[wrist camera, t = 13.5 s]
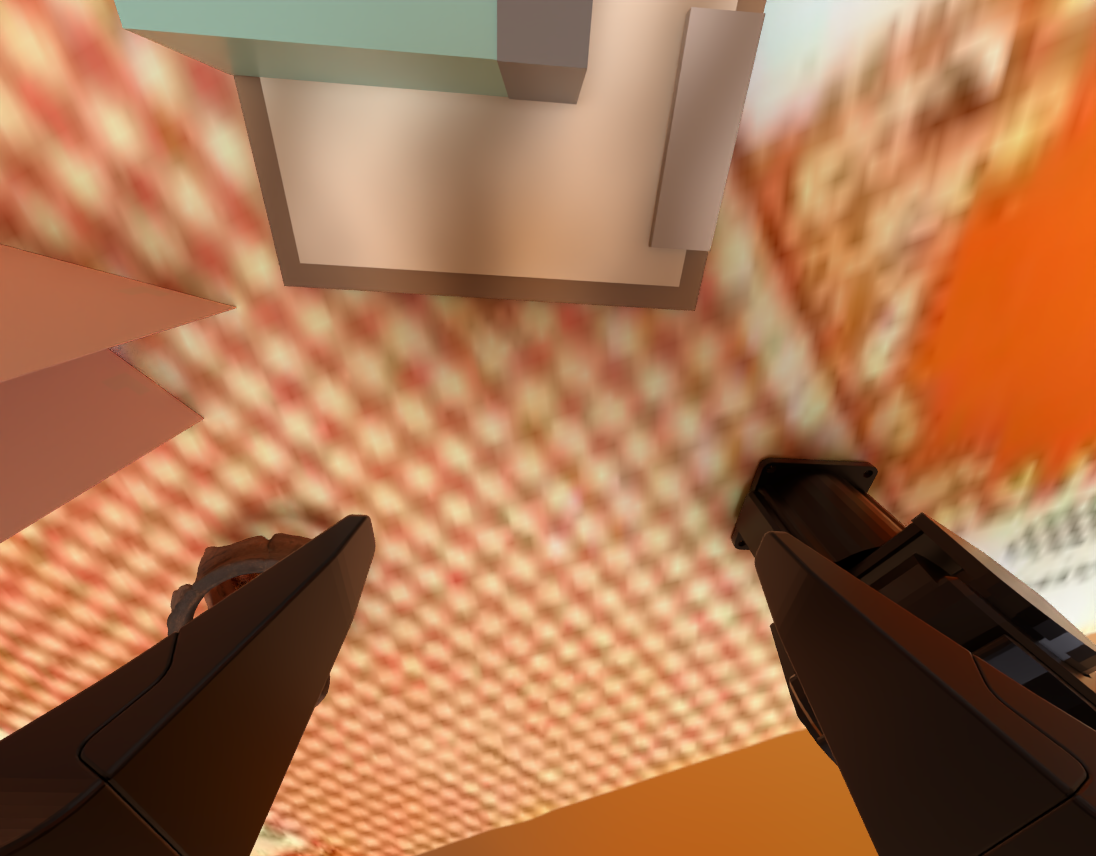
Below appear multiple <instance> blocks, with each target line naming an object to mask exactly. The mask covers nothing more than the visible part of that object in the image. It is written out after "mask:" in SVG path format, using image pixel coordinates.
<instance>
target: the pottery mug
mask: <svg viewBox="0 0 1096 856" xmlns="http://www.w3.org/2000/svg"><path fill="white" fill-rule="evenodd" d="M311 540H312V539H309V538H304V537H301V536H293V535H287V534H283V533H278V534H275V535H274V536H273V537H272V538H271V539H270V540H267V539H266V538H265V537H263V536H256V537H252V538H248V539H245V540H243V541H240V542H237V543H234V544H232V545H228V546H223V547H208V548H206V549H205V552H204V555H203V557H202V559H201V561H200V564H199V567H198V572H197V578H196V581H195V582H194V584H193V585H190V584H186V585H183V586H181V587H180V588H179V589H178V590H176V591H174V592H173V595H172V600H171V609H172V613H171V614H170V615H169V617H168V619H167V627H168V636H169V635H170V634H172V633H173V632H179V629H180V628H181V627H183V626H184V625H186V624H187V623H189V622H190V621H191V620H193V616H194V613H195V610H196V608H197V606H198V604H199V603H200V601H201V600H202V598H203V597H204V598H205V601H206V603H207V606H208V609H209V608H211V607H212V606H214V605H215V604H217V603H218V602H220V601H221V600H223V599H224V598H226V597H227V596H229V595H230V594H232V593H233V592H235V591H236V589H235V587H234V586H233V583H232V580H231V578H233V577H236V576H239V575H244V574H251V573H263V572H264V571H266V570H267V569H269V568H270V567H272V566H273V565H275V564H276V563H278V562H279V561H281V560H282V559H284V558H285V557H287V556H288V555H290V554H291V553H293V552H294V551H296V550H297V549H299V548H300V547H302V546H303V545H305V544H306V543H308V542H309V541H311ZM329 684H330V674H329V676H328V678H327V680H326V683H325V685H324V687H323V690H322V692H321V694H320V696H319V699H318V701H317V703H316V706H317V705H319V703H320V702H321V701H322V700H323V699H324V698H325V696H326V694H327V692H328V689H329ZM316 706H315V707H316Z"/></svg>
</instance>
